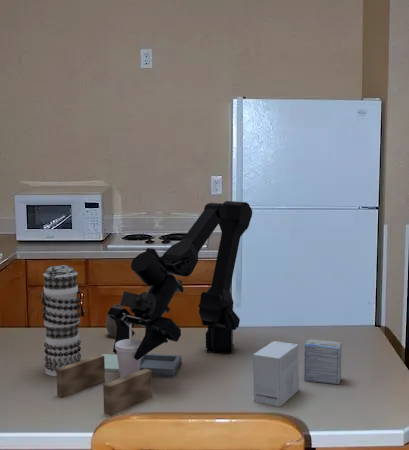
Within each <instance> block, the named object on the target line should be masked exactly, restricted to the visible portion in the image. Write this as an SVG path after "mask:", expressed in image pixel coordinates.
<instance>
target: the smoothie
mask: <svg viewBox="0 0 409 450" xmlns="http://www.w3.org/2000/svg"><path fill="white" fill-rule="evenodd" d="M132 330H133V328H132V324H129V339H125V340H120V341H118V342H116V343H115V342H114V343H115V349H116V350H117V354H116V355H117V358H118V365H119V378H122V377H125V376H127V375H130V374H132V373H135V372H138V371H140V364H141V358H140V359H139V360H136V359H135V358H134V356H135V354H136V352H137V350H138V348H139V346H140V344H141V342H142V340H139V339H135V338H134V339H133V336H132Z"/></svg>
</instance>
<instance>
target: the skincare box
mask: <svg viewBox="0 0 409 450" xmlns="http://www.w3.org/2000/svg"><path fill="white" fill-rule="evenodd" d="M299 347H300V345H299V344H298V343H297V344H296V343H290V342H283V341H276V340H275V341H274V340H273V341H271V342H270V343H269V344H267V345H265V346H263V347H262V348H260V349H259V350H258V351H256V352H255V353H253V355H252V357H253V364H252V365H253V367H252V368H253V402H256V403H261V404H266V405H271V406H275V407H279V408H280V407H281V406H283V405H284V404H285V403H286V402H288V400H290V399H291V398H292V397H293V396H294V395H295V394H297V393H298V392H299V391H300V376H299V375H300V368H299V366H300V365H299V364H300V363H299V356H300V355H299V352H300V351H299Z"/></svg>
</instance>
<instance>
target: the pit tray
mask: <svg viewBox="0 0 409 450" xmlns="http://www.w3.org/2000/svg"><path fill="white" fill-rule="evenodd" d="M182 357H183V356H182V355H179V354H161V353H147V354H146V355H144V356H143V357H142V358H141V364H140V370H143V369H145V368H146V369H149V370H152V378H154V377H155V378H174V377H175V376H176V374H177V372H178V371H179V369H180V367H181V365H182V360H183V359H182Z"/></svg>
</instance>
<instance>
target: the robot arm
mask: <svg viewBox="0 0 409 450" xmlns="http://www.w3.org/2000/svg"><path fill="white" fill-rule="evenodd" d="M203 208H204V209H203V211H202V212H201V214H200V215H199V217H198V218H197V219H196V221H195V222H194V223H193V224H192V226H191V227H190V229H189V230H188V232H187V233H186V234H185V236H184V237H183V238H182V239H181V240H180V241H178V242H176V243H175V244H174V243H173V244H172V245H171V246H170V247H169V248H168V249H167V250H166V251H164V252H163V254H162V255H161V256H160V255H159V254H158V252H157V250H156V249H155V248H150V247H147V248H146V249H145V251H143V252H140V253H139V254H137V255H136V257H133V259H132V260H131V263H130V268H131V270H132V271H133V272H134V274H135V275H136V276H137V277H138V278H139V279H140V280H141V281H142V282H143V284H145V285H146V286H148V287H149V288H148V290H147V292H146V291H144V292H141V293H140V294H138V293H134V292H130V291H129V292H128V291H123V293H122V296H121V300H120V302H119V304H120V305H121V306H123V307H124V308H121V307H117V306H114V305H113V306H114V307H113V306H111V307H110V308H109V310H108V312H107V313H106V315H107V316H109V317H110V318H111V319H112V320H113V321H114V322H115V323H116V326H117V332H116V337H114V338H115V340H114V345H113V350H112V352H113V354H114V355H117V350H116V349H115V343H116V342H118V341H120V340H125V339H129V324H132V337H133V336H134V335H135V334H136V332H135V331H134V330H133V328H134V326H138V327H142V328H145V331H144V336H143V338H142V340H141V341H142V342H141V344H140V346H139V348H138V350H137V352H136V354H135V356H134V358H135V359H136V360H139V359H140V358H142V357H143V356H144V355H146V354H150V352H151V351H153V350H154V349H157V348H158V347H159V346H162V345H163V344H164V343H165V344H166V343H167V344H168V341H171V342H175V343H177V342H178V341H179V340H180V338H181V336H182V330H181V328H180V327H179V325H178V324H176V322H175V321H173V320H174V319H172V318H168V317H165V316H163V315H164V313H168V314H169V312H170V310H171V308H170V307H169V304H170V302H171V301H172V299H173V297H174V296H175V294H176V292H180V293H183V292H184V286H183V281H182V280H180V279H177V278H176V277H177V276H179V277H189V276H191V275H192V273H193V272H194V269H195V268H196V266H197V264H198V262H199V253H200V250H201V249H202V248H203V246H204V245H205V244H206V242H207V241H208V239H209V238H210V237H211V235H212V234H213V233H214V231H215V229H216V228H217V226H218V225H219V229H220V231H221V236H220V240H219V246H218V251H217V254H216V255H217V256H216V260H215V265H214V269H213V270H214V271H213V276H212V279H211V285H210V287H209V289H208V290H206V291H202V292H201V294H200V299H199V304H198V306H197V307H198V314H199V317H200V320H201V325H202V326H205V327H207V330H206V331H205V348H206V352H207V353H218V354H219V353H220V354H231V353H232V352H233V350H234V347H235V344H234V331H236V330H237V328H239V325H240V322H241V320H240V319H241V318H240V317H239V316H238V315H237V313H236V312H235V311H234V298H233V296H232V293H231V286H232V280H233V276H234V271H235V266H236V261H237V256H238V251H239V244H240V241H241V237H242V236H243V235H244V233H245V232H247V231H246V230H248V228H249V227H250V223H251V220H252V217H253V209H252V207H251V205H250V203H248V202H246V201H235V200H234V201H232V200H226V201H224V202H223V203H222V202H209V203H207V204H205V206H204V207H203ZM125 307H127V308H130V309H129V310H127V309H126V308H125ZM129 311H130V312H129ZM131 313H132V314H131ZM133 314H134V315H133Z"/></svg>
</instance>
